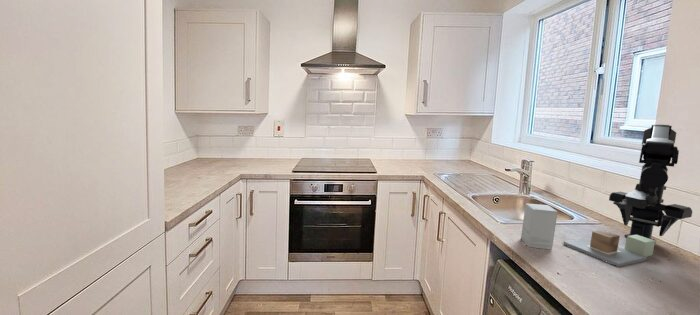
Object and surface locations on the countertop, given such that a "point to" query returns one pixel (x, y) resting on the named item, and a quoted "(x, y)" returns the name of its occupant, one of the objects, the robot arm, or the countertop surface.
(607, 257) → the plate
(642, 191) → the robot arm
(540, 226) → the supplement box
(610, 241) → the walnut block
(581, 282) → the countertop surface
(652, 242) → the sage block
